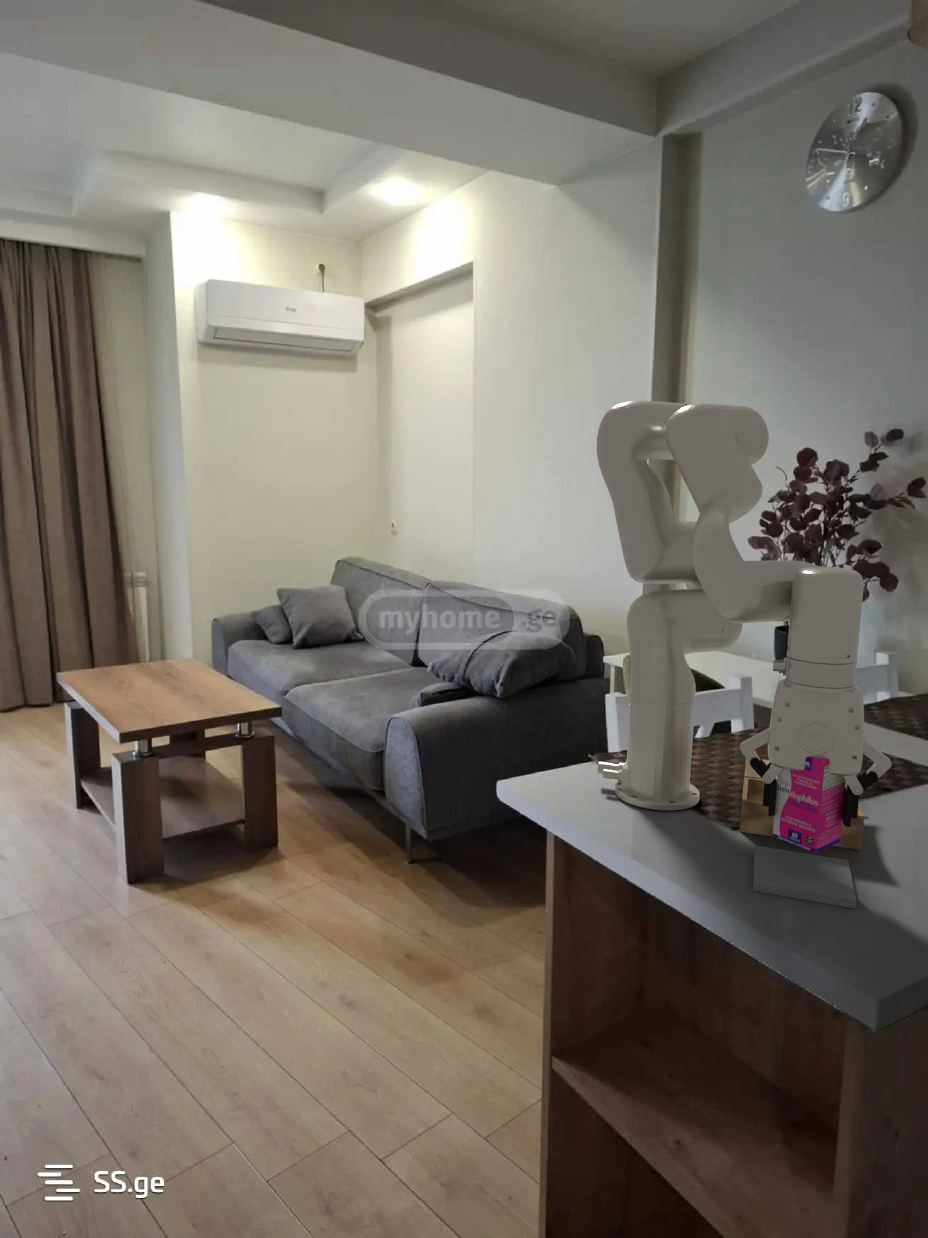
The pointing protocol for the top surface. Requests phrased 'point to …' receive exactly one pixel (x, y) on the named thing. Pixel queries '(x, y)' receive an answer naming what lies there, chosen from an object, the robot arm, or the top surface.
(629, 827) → the top surface
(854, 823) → the wooden crate
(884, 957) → the top surface
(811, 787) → the supplement box
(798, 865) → the mat
